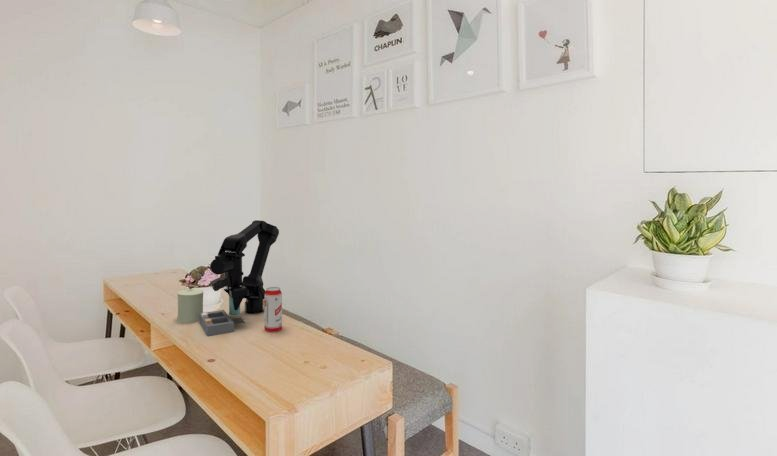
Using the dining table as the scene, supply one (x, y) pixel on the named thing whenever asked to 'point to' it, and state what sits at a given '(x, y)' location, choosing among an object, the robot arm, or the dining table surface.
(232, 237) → the robot arm
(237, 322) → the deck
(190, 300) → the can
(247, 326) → the dining table surface
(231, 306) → the plug
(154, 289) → the dining table surface
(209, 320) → the dock
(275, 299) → the beer can
